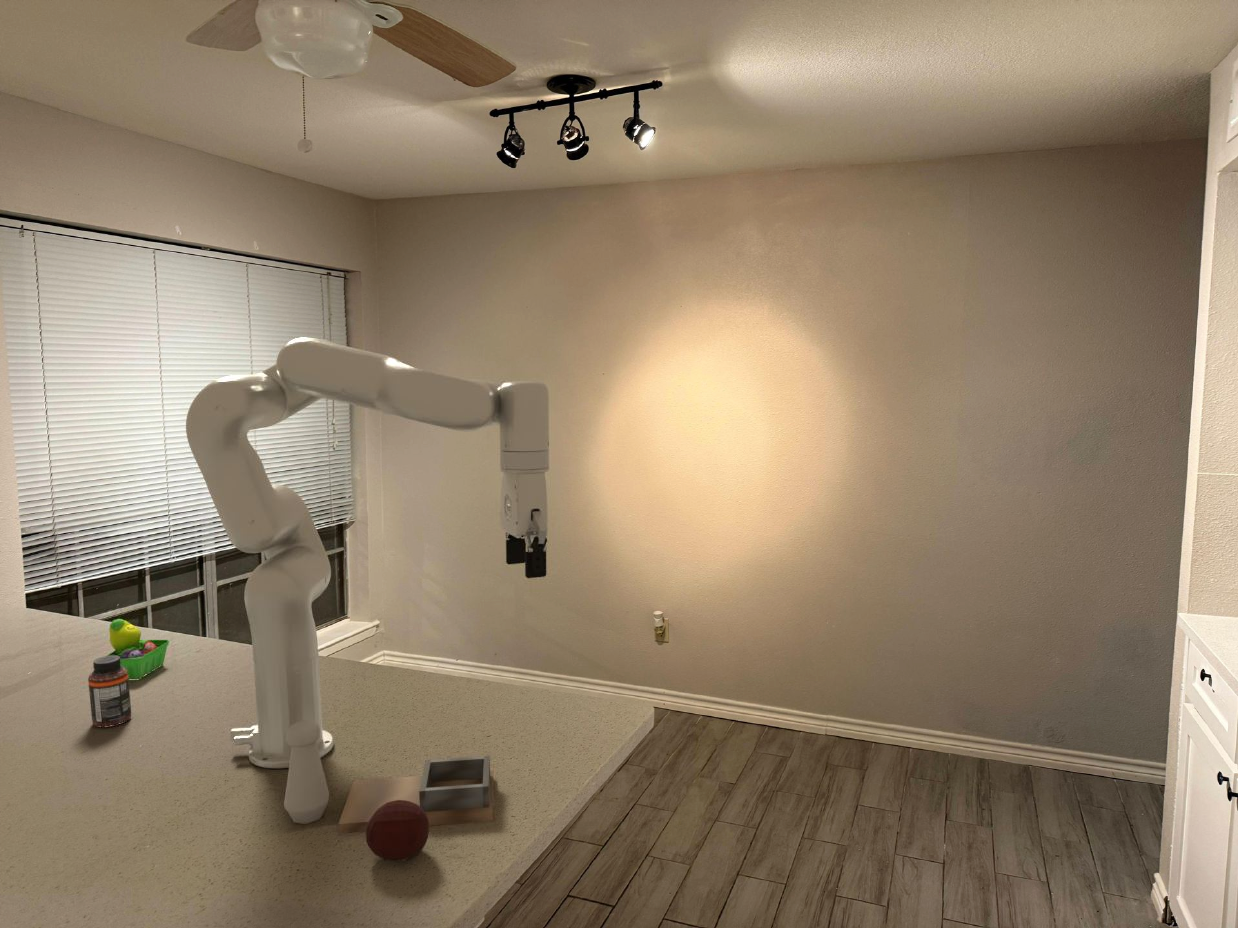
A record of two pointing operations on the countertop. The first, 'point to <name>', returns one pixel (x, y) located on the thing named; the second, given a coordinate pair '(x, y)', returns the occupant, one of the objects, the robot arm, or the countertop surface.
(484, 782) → the shaker caddy
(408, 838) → the dark red ball
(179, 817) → the countertop surface
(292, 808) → the salt shaker
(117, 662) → the supplement bottle
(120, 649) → the fruit basket
